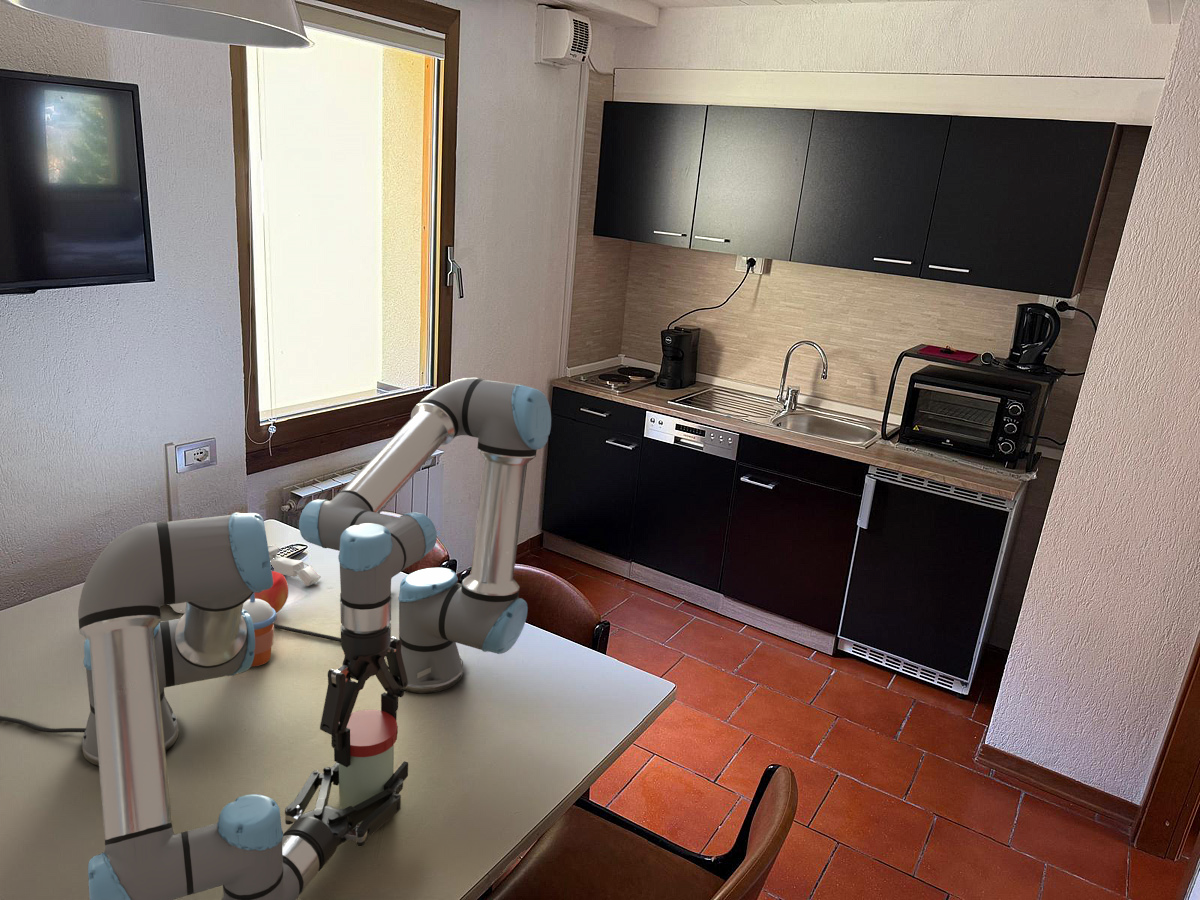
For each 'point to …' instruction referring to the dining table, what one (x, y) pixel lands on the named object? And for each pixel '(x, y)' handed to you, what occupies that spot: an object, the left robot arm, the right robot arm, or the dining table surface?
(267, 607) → the cup with straw
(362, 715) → the lid
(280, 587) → the apple
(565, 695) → the dining table surface
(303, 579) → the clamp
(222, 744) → the dining table surface
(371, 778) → the jar
